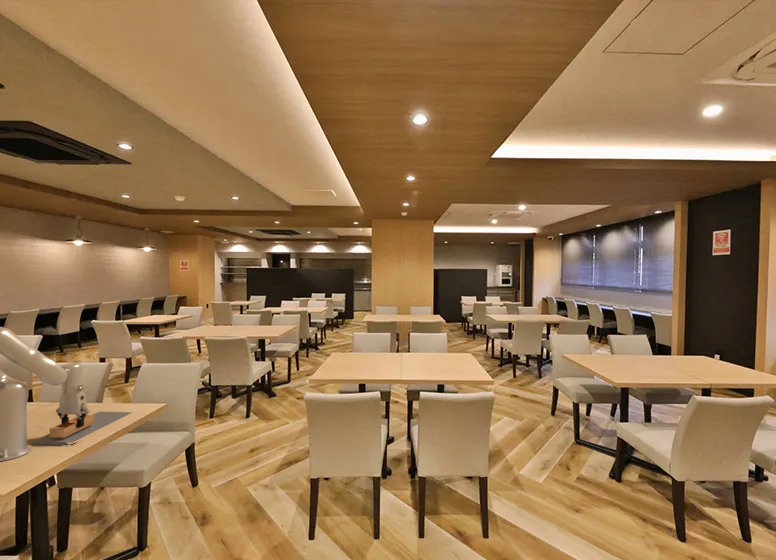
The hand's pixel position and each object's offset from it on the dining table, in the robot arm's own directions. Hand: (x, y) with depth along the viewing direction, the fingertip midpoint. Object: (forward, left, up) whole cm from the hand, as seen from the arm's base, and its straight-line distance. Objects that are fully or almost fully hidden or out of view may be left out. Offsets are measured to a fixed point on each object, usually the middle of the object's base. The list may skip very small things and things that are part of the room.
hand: (72, 426), depth 174 cm
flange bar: (0, 0, -2) cm, 2 cm away
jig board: (+8, 0, -4) cm, 9 cm away
